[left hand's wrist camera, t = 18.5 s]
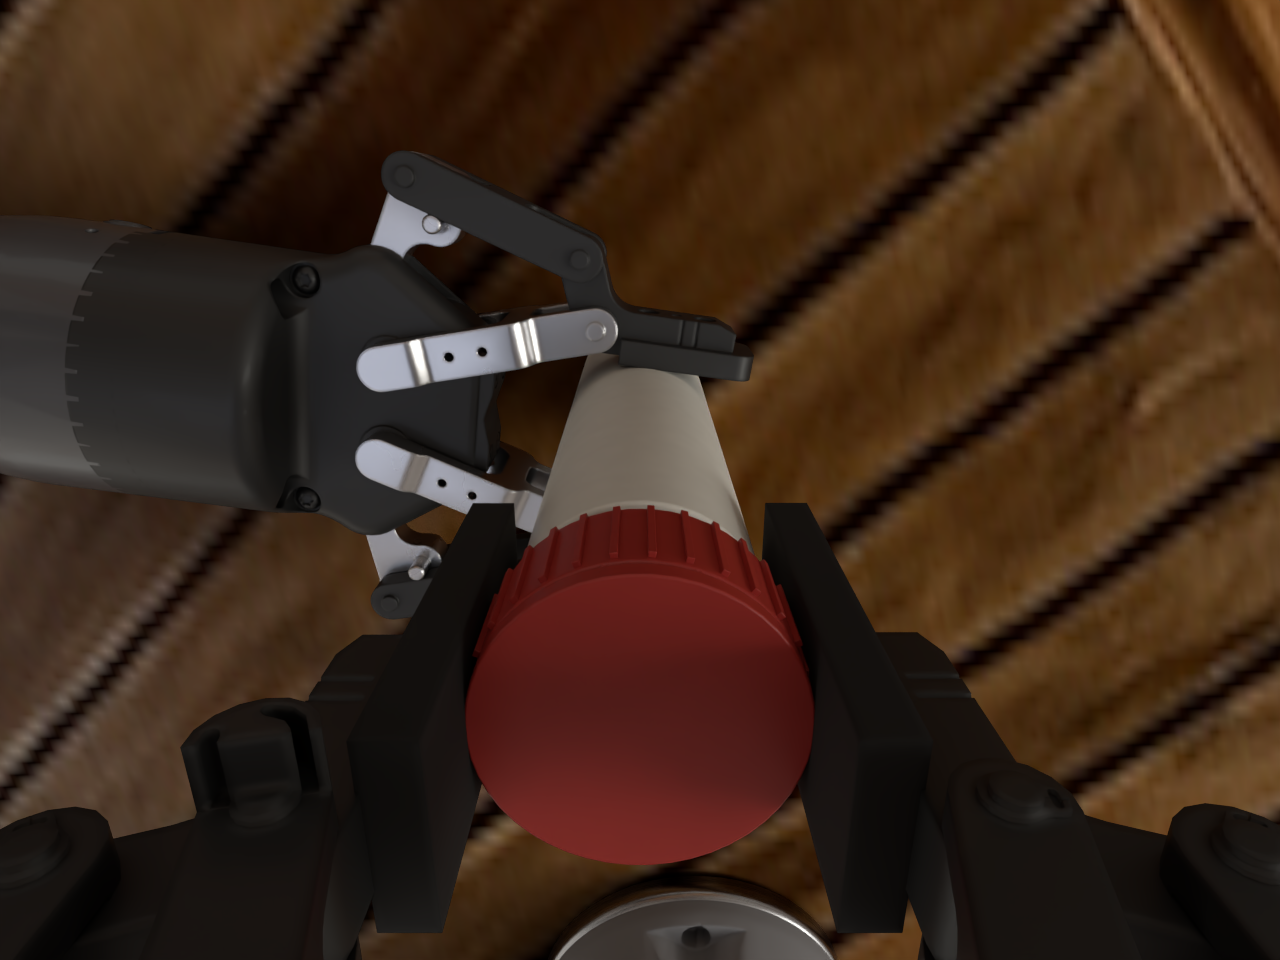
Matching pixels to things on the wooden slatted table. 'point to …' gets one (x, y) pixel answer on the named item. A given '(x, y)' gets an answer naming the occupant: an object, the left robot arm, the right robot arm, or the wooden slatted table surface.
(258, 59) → the wooden slatted table surface
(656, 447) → the white tube
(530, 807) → the lid
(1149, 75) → the wooden slatted table surface
